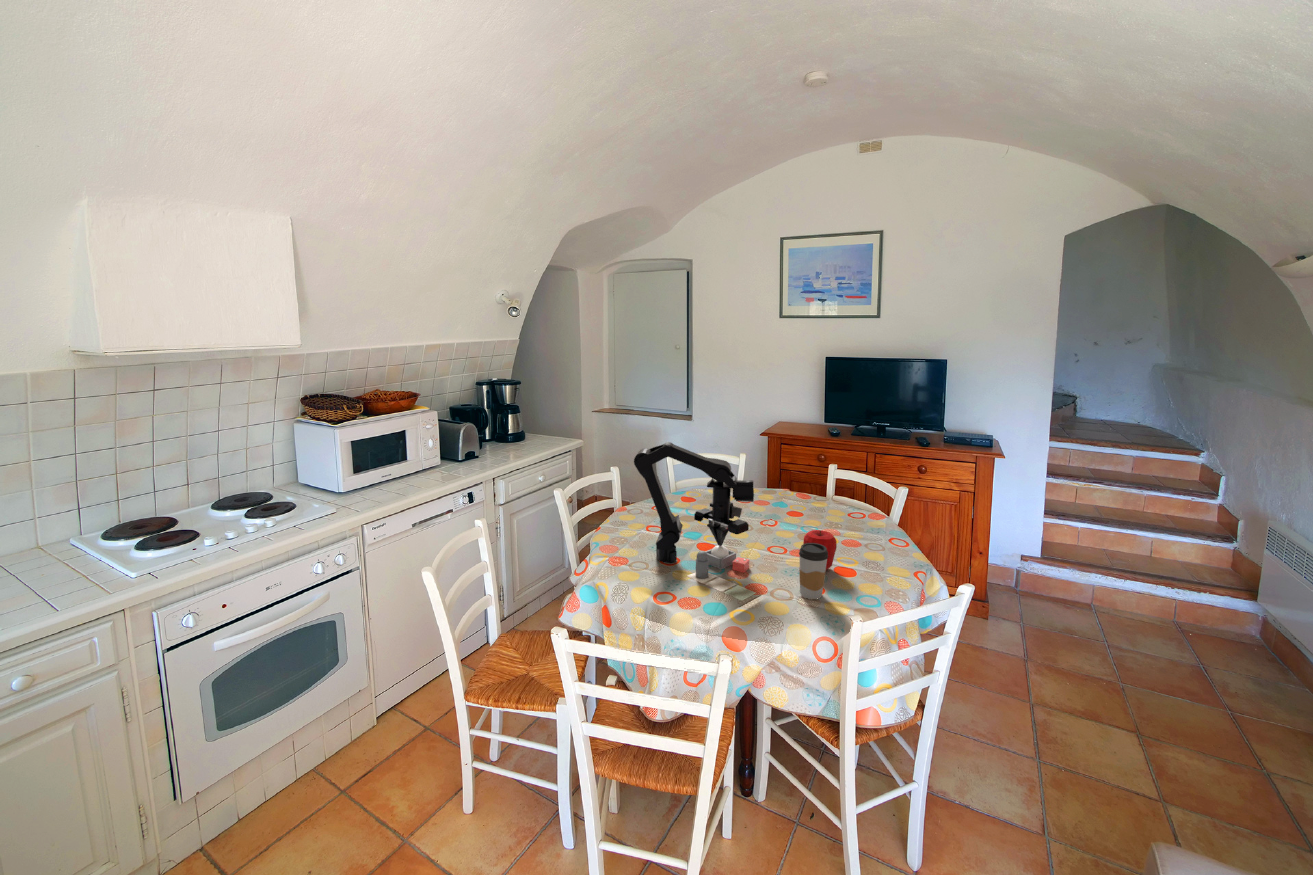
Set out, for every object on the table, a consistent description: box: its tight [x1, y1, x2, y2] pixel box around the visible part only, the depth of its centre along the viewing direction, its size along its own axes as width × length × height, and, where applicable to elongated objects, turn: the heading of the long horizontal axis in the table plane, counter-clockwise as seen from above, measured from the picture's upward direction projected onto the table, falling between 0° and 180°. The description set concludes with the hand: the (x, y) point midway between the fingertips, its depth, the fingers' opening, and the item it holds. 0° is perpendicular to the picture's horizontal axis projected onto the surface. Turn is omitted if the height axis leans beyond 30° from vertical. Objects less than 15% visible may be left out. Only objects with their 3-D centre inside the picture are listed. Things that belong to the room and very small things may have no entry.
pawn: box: [695, 550, 710, 579], centre depth 187 cm, size 4×4×8 cm
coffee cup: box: [798, 543, 828, 600], centre depth 177 cm, size 8×8×15 cm
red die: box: [732, 556, 750, 573], centre depth 193 cm, size 4×4×4 cm
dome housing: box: [705, 548, 737, 570], centre depth 198 cm, size 8×8×4 cm
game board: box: [686, 571, 762, 608], centre depth 183 cm, size 23×10×1 cm, turn 44°
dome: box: [711, 544, 729, 558], centre depth 198 cm, size 6×6×6 cm
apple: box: [802, 529, 838, 571], centre depth 194 cm, size 11×10×14 cm
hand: (720, 545), depth 197 cm, fingers closed
